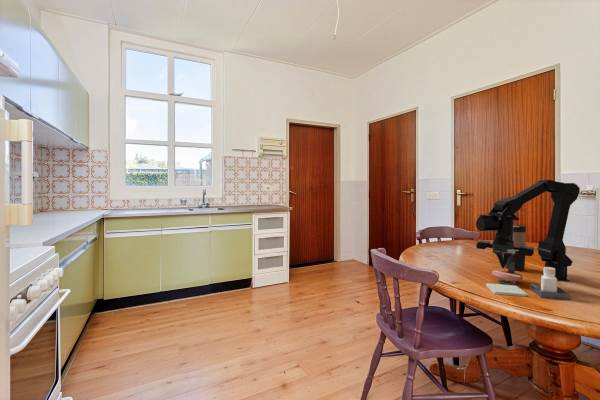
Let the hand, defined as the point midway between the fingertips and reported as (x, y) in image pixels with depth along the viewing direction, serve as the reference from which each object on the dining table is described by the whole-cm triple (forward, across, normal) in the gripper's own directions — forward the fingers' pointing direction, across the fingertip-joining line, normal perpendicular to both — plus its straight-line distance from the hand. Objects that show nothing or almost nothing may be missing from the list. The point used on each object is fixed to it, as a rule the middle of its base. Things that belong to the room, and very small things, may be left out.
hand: (503, 268), depth 120 cm
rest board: (+4, +4, -15) cm, 16 cm away
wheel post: (+4, +2, -4) cm, 6 cm away
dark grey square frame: (+4, +16, -9) cm, 18 cm away
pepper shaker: (+4, +16, -9) cm, 18 cm away
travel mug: (+5, 0, +21) cm, 21 cm away
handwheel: (+2, +2, -4) cm, 5 cm away
